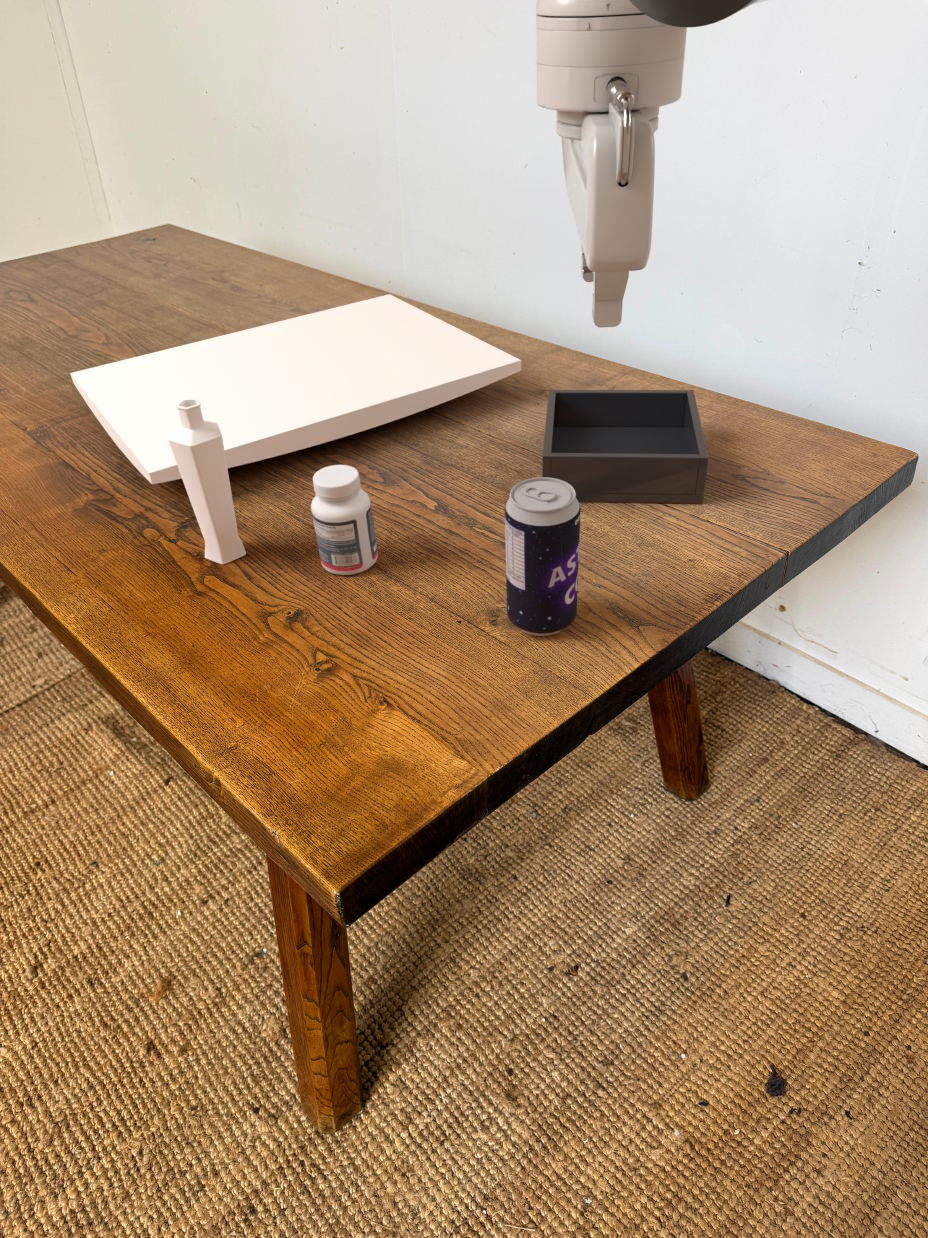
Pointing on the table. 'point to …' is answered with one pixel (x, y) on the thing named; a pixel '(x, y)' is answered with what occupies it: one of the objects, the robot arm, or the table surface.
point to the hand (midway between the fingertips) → (599, 299)
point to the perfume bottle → (207, 481)
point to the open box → (626, 445)
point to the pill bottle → (343, 521)
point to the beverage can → (542, 555)
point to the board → (290, 382)
